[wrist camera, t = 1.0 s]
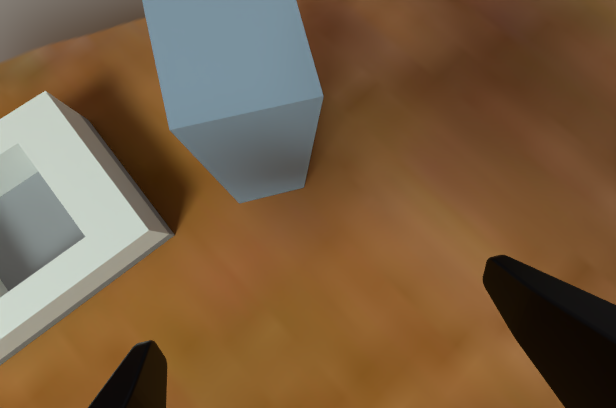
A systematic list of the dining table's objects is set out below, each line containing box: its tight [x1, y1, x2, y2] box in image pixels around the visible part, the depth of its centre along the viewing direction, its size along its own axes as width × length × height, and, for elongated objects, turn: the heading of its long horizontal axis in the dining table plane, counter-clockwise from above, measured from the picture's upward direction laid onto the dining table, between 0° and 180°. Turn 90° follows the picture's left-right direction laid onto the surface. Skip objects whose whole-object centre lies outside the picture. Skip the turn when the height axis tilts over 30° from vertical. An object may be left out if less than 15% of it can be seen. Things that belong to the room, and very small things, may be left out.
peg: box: [142, 0, 323, 203], centre depth 16 cm, size 4×4×13 cm
